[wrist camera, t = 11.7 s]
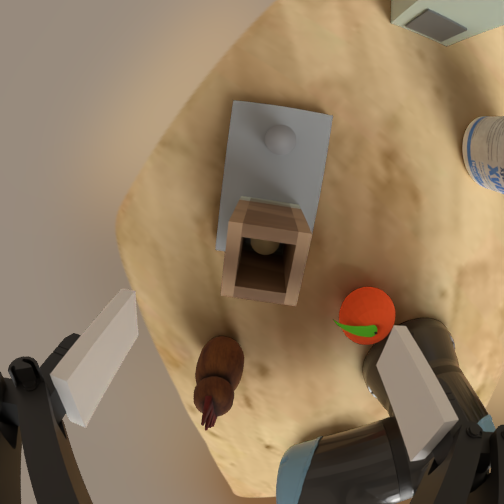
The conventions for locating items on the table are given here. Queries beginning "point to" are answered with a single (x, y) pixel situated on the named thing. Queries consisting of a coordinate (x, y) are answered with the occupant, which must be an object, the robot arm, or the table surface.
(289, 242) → the sleeve
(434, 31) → the tower
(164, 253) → the table surface
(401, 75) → the table surface
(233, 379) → the wooden figurine
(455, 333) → the table surface
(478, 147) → the supplement tub
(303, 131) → the pin board
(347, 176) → the table surface
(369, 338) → the clementine
